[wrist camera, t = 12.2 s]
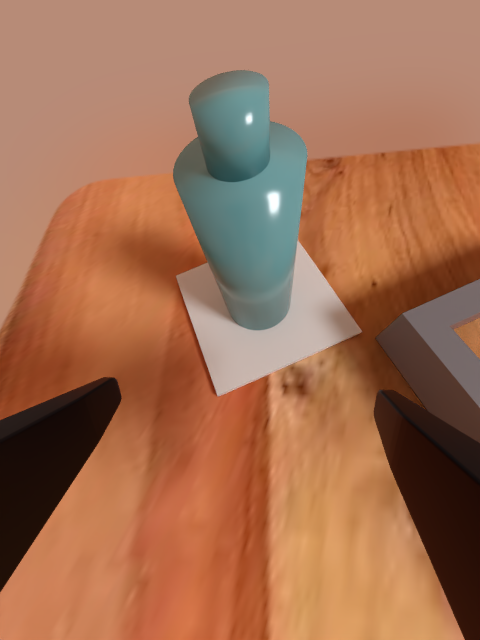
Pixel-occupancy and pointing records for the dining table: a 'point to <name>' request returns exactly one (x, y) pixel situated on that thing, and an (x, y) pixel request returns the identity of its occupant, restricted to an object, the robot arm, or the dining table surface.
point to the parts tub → (440, 357)
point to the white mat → (270, 344)
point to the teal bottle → (244, 195)
